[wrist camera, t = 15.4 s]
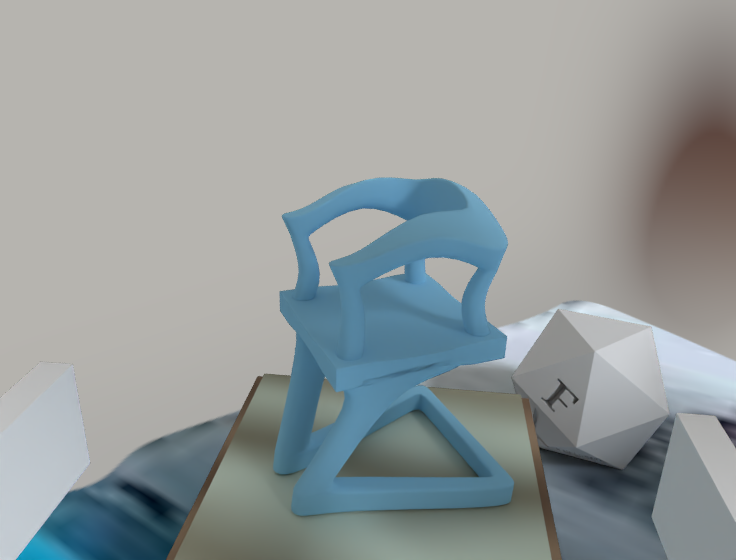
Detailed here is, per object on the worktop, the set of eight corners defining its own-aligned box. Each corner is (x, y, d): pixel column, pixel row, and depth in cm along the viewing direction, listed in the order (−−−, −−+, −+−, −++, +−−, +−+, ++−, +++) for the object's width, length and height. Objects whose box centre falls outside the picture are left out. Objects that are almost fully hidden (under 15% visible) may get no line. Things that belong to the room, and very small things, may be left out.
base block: (261, 461, 37) (257, 367, 35) (516, 485, 36) (530, 390, 34) (163, 705, 24) (147, 582, 22) (554, 755, 23) (581, 631, 21)
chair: (257, 436, 30) (245, 168, 25) (424, 399, 33) (442, 154, 28) (313, 563, 23) (312, 232, 18) (516, 502, 26) (559, 205, 21)
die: (490, 410, 44) (477, 345, 36) (591, 333, 45) (600, 254, 37) (580, 513, 39) (588, 465, 31) (689, 425, 40) (723, 357, 33)
